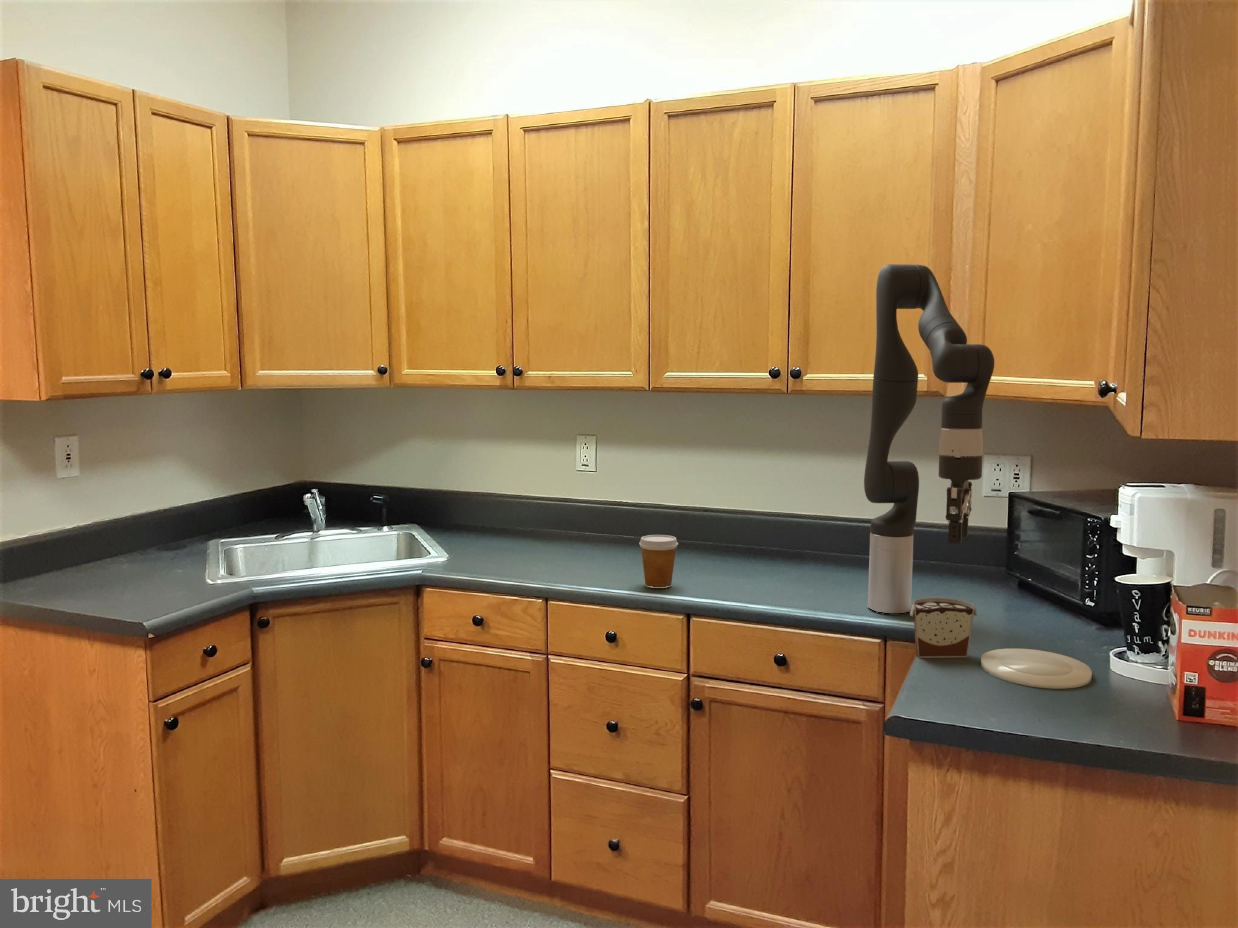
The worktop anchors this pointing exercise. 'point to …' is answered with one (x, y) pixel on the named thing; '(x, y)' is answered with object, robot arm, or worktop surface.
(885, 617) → the worktop surface
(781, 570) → the worktop surface
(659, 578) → the disposable coffee cup
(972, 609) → the food container
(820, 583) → the worktop surface
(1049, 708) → the worktop surface
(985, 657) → the plate
